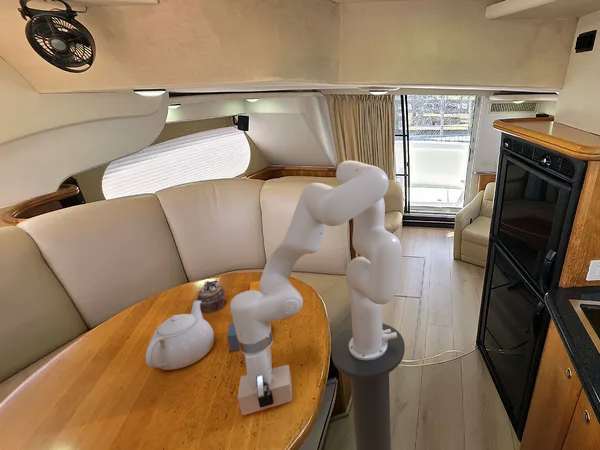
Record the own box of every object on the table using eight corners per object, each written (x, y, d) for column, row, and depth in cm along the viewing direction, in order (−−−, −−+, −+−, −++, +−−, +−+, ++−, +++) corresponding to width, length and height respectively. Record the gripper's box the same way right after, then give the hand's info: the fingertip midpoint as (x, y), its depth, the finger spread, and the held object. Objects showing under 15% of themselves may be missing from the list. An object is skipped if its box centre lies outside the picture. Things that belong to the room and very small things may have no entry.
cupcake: (203, 300, 126) (197, 279, 123) (229, 297, 129) (224, 276, 125) (195, 315, 118) (189, 292, 114) (224, 310, 120) (218, 288, 116)
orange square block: (249, 296, 129) (247, 287, 127) (251, 286, 136) (249, 278, 135) (270, 292, 131) (268, 284, 130) (271, 283, 138) (269, 274, 137)
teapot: (144, 352, 100) (130, 317, 95) (208, 325, 112) (198, 293, 107) (155, 387, 88) (140, 349, 83) (225, 352, 100) (216, 317, 95)
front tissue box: (242, 415, 78) (237, 396, 76) (244, 392, 84) (240, 374, 82) (292, 401, 82) (288, 382, 80) (291, 380, 88) (288, 362, 86)
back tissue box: (230, 351, 100) (226, 335, 98) (233, 337, 107) (229, 321, 104) (270, 342, 104) (267, 326, 102) (271, 329, 110) (268, 313, 108)
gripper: (242, 320, 82) (254, 371, 89) (234, 370, 67) (249, 427, 74) (273, 314, 85) (282, 364, 91) (271, 360, 70) (282, 417, 76)
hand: (267, 392), depth 82 cm, fingers closed on front tissue box, 7 cm apart
